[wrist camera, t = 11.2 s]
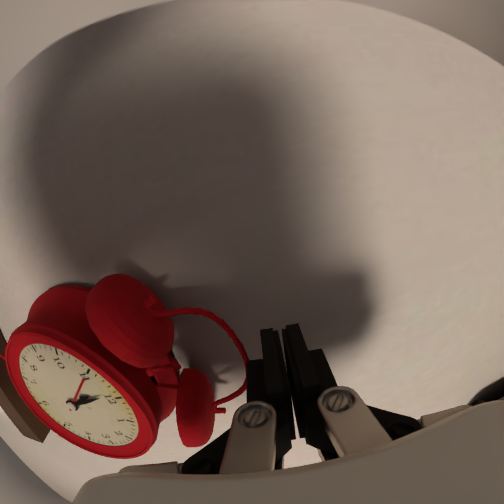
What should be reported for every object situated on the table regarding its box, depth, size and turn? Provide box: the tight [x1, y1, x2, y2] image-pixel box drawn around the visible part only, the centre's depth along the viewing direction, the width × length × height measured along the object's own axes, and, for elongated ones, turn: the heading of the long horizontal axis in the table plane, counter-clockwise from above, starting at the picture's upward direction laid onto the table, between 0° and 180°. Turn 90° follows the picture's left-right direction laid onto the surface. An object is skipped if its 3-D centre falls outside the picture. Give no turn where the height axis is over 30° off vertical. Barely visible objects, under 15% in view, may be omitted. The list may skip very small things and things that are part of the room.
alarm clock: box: [0, 274, 249, 459], centre depth 11 cm, size 10×6×15 cm
